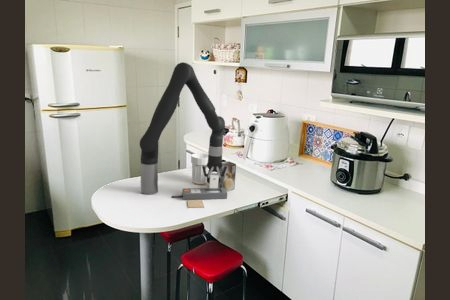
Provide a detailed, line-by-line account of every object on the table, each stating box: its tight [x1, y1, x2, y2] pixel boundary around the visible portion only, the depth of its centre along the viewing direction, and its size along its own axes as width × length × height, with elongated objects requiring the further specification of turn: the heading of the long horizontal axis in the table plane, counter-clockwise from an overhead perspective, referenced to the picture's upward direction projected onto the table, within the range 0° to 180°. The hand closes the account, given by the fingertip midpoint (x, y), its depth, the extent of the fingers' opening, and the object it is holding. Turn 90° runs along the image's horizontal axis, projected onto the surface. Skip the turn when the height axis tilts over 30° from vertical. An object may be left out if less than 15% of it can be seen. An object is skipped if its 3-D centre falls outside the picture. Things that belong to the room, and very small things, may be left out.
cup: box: [190, 152, 209, 186], centre depth 198 cm, size 11×11×17 cm
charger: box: [207, 172, 219, 188], centre depth 178 cm, size 5×5×7 cm
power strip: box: [171, 187, 228, 201], centre depth 179 cm, size 30×8×4 cm, turn 102°
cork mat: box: [186, 200, 205, 209], centre depth 170 cm, size 8×8×1 cm
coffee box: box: [218, 161, 237, 193], centre depth 189 cm, size 9×6×16 cm
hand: (213, 183), depth 178 cm, fingers closed on charger, 4 cm apart
